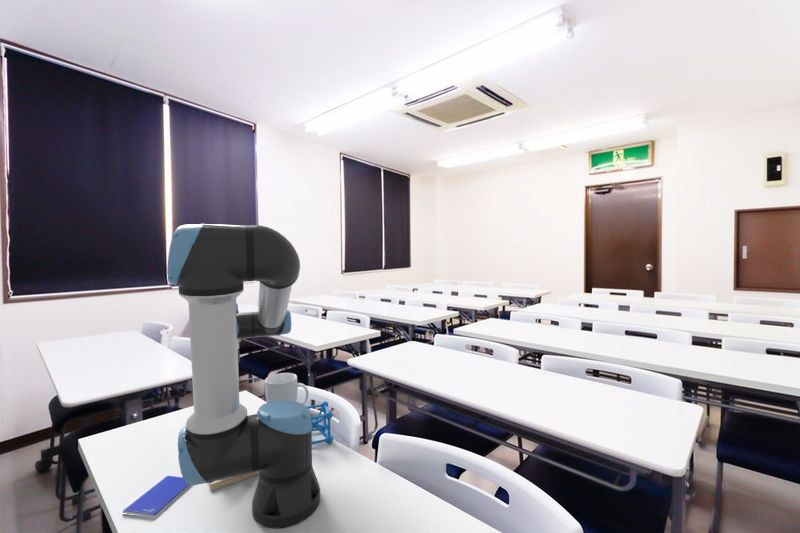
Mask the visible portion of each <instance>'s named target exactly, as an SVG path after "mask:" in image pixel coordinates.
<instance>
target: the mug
mask: <svg viewBox="0 0 800 533" xmlns="http://www.w3.org/2000/svg"><path fill="white" fill-rule="evenodd" d="M300 387H302V388H303V389H304V391H305V398H304V399H303V400H302V401H301V402H300V403H301V404H303V405H305V404H306V402H308V399H309V396H310V394H309V389H308V387H307V385H305V384H304V383H301V382H298V376H297V374H295V373H292V372H280V373H275V374H272V375H269V376H267V377H266V378H265V379H264V388H265V394H264V395H265V401H266V403H265V404H267V403H268V402H271V401H278V400H289V401H295V402H297V399H298V388H300Z"/></svg>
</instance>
